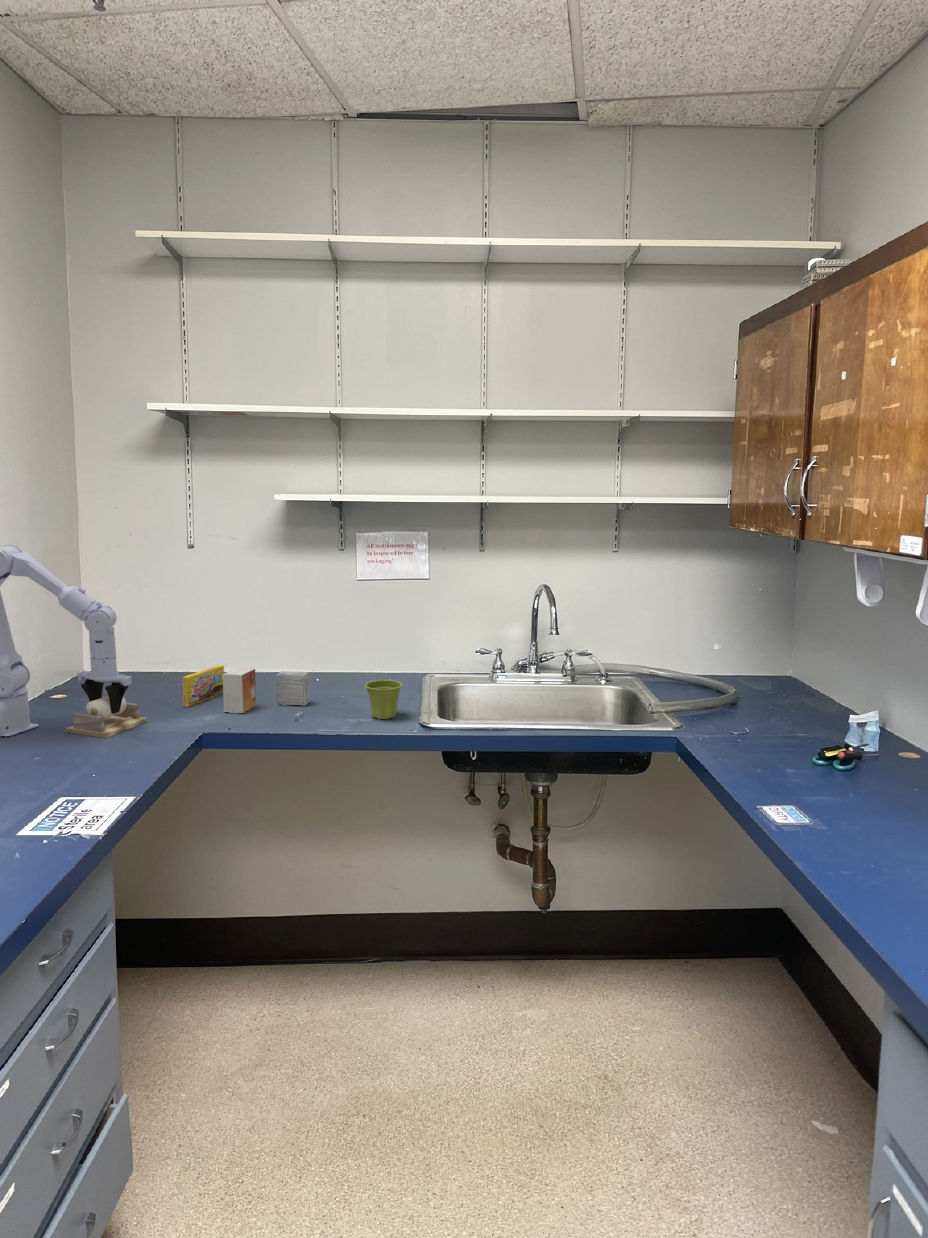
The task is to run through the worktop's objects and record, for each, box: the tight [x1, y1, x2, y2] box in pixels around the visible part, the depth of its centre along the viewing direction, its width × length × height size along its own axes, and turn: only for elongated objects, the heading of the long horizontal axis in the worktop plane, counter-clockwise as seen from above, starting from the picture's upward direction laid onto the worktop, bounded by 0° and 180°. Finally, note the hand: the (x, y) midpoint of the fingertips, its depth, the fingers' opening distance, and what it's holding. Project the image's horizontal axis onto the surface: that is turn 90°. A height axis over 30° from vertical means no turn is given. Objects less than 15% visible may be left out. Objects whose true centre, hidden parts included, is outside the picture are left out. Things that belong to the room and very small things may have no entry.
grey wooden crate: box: [275, 670, 310, 706], centre depth 221 cm, size 8×4×9 cm, turn 84°
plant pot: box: [365, 679, 403, 720], centre depth 211 cm, size 9×9×9 cm
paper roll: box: [85, 695, 127, 719], centre depth 199 cm, size 8×5×5 cm, turn 161°
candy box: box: [182, 664, 225, 708], centre depth 225 cm, size 16×2×8 cm, turn 161°
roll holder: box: [65, 702, 148, 739], centre depth 199 cm, size 14×12×4 cm
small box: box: [222, 667, 257, 714], centre depth 215 cm, size 8×6×10 cm
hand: (106, 711), depth 199 cm, fingers closed on paper roll, 5 cm apart
